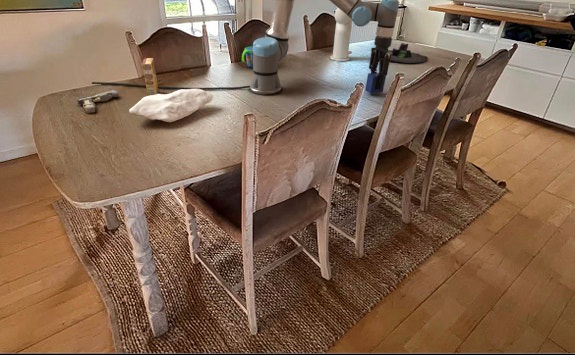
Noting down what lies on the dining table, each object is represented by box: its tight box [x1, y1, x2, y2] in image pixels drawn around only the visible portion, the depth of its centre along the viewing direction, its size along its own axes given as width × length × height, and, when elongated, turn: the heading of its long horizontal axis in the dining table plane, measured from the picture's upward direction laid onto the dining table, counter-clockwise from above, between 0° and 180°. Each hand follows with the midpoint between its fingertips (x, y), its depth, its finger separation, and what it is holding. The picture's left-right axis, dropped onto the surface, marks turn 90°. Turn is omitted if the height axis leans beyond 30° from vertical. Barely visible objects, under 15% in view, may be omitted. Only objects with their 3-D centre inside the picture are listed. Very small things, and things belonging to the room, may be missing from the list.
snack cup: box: [241, 45, 253, 69], centre depth 208 cm, size 16×10×10 cm
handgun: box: [76, 89, 120, 114], centre depth 155 cm, size 3×18×15 cm
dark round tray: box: [382, 42, 428, 64], centre depth 240 cm, size 35×35×9 cm
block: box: [365, 72, 387, 95], centre depth 175 cm, size 5×7×8 cm
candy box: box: [141, 57, 160, 96], centre depth 163 cm, size 9×4×15 cm, turn 13°
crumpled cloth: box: [129, 89, 214, 123], centre depth 147 cm, size 24×35×9 cm
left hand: (374, 86), depth 176 cm, fingers closed on block, 5 cm apart
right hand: (288, 0), depth 223 cm, fingers open, 9 cm apart
